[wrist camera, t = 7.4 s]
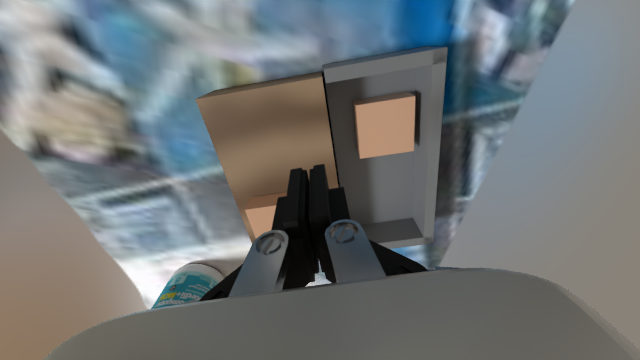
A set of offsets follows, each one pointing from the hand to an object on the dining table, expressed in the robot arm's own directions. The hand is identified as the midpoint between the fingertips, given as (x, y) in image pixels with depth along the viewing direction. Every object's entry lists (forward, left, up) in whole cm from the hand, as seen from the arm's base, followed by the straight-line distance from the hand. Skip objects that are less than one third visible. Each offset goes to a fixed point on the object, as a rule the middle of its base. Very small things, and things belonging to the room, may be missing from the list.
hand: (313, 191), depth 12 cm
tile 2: (+1, +6, -11) cm, 13 cm away
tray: (+5, +6, -14) cm, 16 cm away
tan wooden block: (+5, -4, -14) cm, 15 cm away
